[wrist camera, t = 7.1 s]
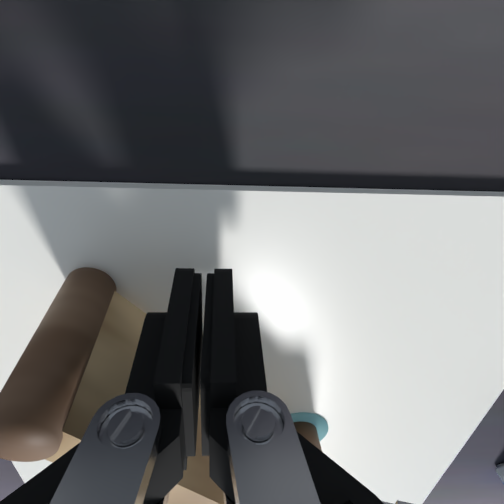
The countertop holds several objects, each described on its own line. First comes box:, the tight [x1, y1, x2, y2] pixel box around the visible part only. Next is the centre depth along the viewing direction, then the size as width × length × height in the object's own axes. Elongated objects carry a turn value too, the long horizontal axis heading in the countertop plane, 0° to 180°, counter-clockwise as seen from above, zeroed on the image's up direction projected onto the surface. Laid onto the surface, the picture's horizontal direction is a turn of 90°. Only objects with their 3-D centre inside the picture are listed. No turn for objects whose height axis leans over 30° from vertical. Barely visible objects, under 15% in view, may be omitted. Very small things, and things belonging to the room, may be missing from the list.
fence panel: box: [0, 267, 224, 504], centre depth 12 cm, size 12×2×5 cm, turn 37°
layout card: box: [0, 180, 504, 504], centre depth 17 cm, size 24×24×1 cm
